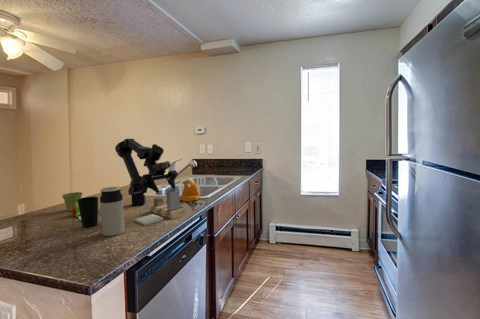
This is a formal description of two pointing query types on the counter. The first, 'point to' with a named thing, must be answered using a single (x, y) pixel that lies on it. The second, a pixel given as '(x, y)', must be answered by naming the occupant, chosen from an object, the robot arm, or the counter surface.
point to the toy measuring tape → (76, 210)
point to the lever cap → (173, 200)
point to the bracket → (190, 191)
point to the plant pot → (71, 199)
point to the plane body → (165, 209)
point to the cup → (88, 211)
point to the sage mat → (149, 219)
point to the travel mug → (112, 211)
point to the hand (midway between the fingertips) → (166, 190)
